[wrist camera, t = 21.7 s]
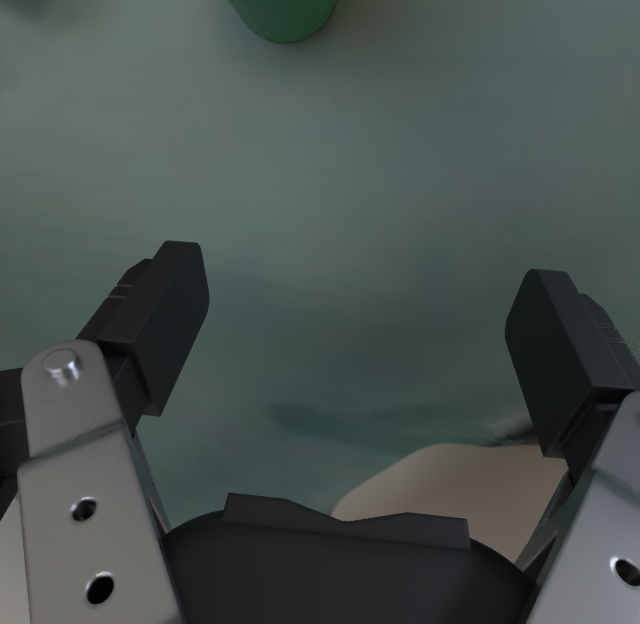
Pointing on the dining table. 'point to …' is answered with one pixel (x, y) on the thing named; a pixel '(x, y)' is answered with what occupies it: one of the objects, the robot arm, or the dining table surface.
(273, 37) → the green can
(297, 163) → the dining table surface
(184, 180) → the dining table surface
